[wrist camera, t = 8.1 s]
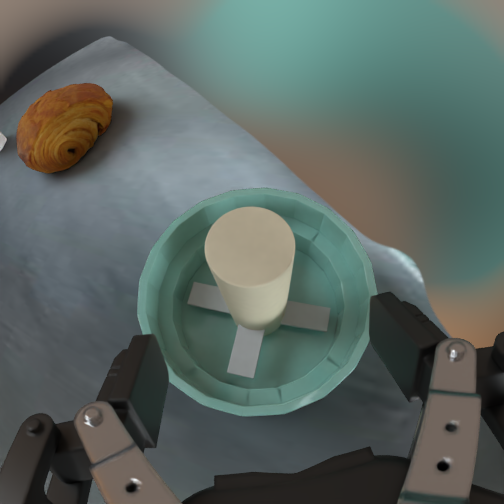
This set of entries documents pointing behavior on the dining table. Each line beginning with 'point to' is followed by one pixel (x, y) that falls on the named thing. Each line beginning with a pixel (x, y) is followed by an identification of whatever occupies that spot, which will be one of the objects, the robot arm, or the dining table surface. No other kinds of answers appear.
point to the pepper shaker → (2, 141)
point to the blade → (253, 282)
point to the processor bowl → (285, 337)
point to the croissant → (63, 126)
